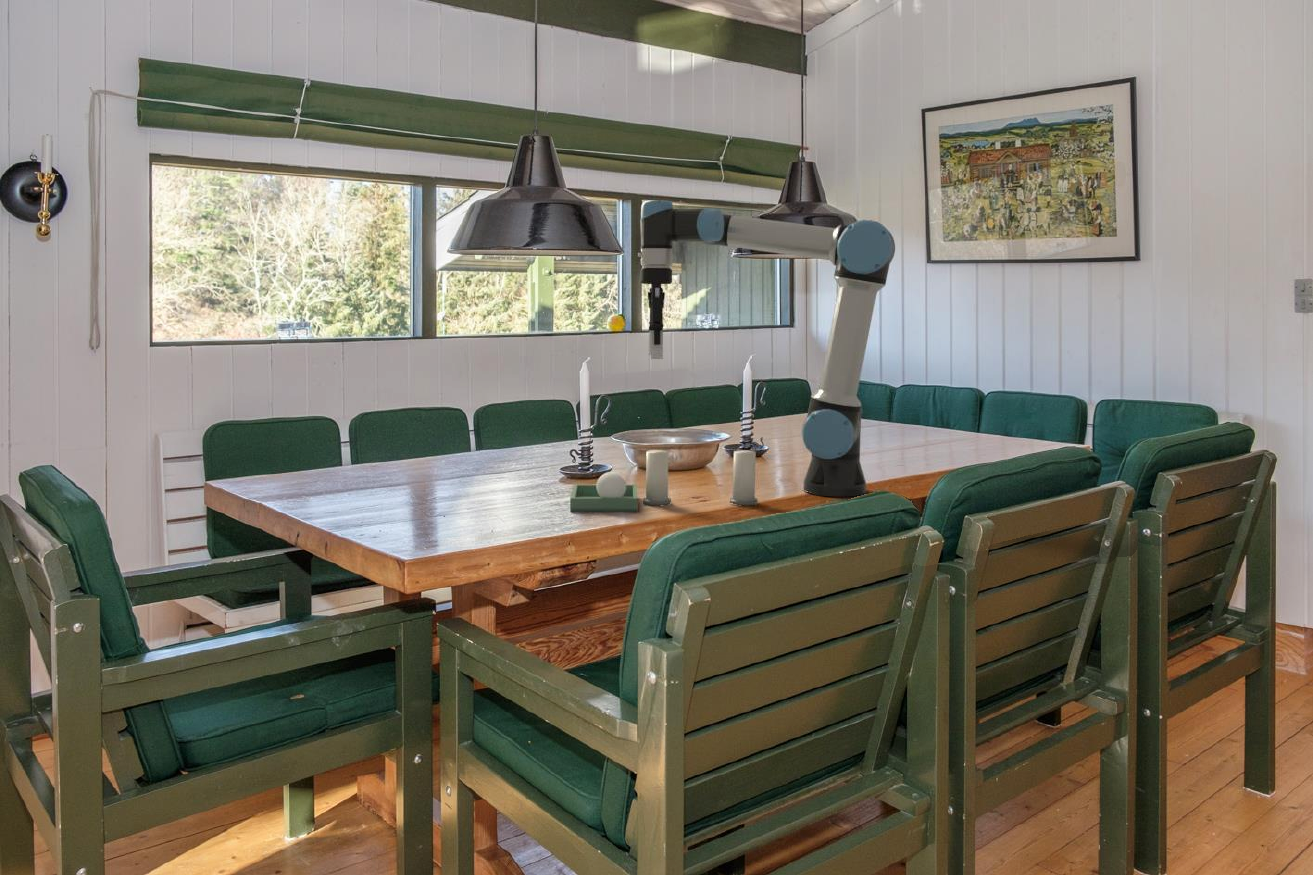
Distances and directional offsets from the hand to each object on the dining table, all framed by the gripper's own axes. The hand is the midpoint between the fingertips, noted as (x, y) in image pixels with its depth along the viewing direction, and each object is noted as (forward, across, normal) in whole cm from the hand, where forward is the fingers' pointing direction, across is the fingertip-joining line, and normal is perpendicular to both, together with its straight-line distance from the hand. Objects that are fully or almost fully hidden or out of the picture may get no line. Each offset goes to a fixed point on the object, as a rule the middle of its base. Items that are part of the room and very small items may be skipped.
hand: (655, 357), depth 258 cm
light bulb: (+31, +14, -12) cm, 36 cm away
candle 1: (+33, +15, 0) cm, 36 cm away
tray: (+33, +16, -12) cm, 38 cm away
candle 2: (+33, +15, +20) cm, 41 cm away
